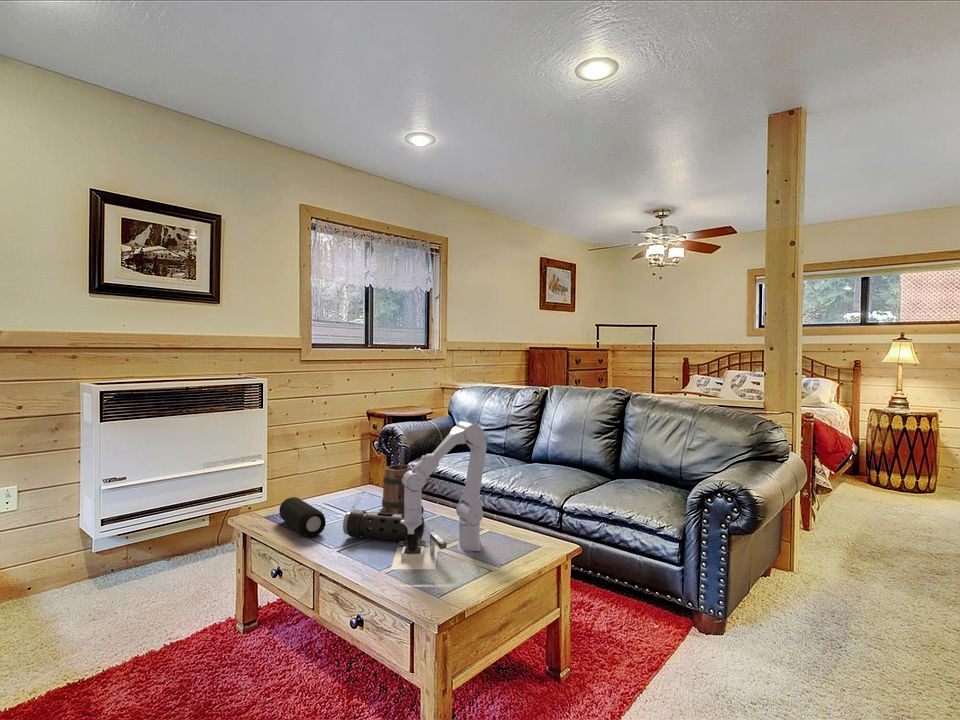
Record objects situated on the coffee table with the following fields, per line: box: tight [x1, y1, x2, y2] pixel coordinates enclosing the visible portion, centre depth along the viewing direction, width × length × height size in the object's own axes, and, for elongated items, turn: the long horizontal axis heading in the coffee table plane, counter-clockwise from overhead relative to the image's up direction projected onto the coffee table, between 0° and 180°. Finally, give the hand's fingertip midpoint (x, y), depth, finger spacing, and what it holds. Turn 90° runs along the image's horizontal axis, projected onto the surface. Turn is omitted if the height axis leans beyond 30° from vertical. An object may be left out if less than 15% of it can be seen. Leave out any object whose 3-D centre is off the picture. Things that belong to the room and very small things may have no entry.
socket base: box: [390, 545, 439, 571], centre depth 173 cm, size 18×14×3 cm
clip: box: [429, 531, 448, 556], centre depth 169 cm, size 2×12×8 cm, turn 24°
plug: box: [398, 536, 420, 554], centre depth 174 cm, size 4×7×6 cm, turn 92°
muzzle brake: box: [342, 509, 425, 543], centre depth 189 cm, size 10×28×10 cm, turn 78°
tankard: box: [379, 464, 425, 515], centre depth 216 cm, size 24×17×20 cm
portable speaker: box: [279, 496, 326, 538], centre depth 201 cm, size 26×10×10 cm, turn 40°
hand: (412, 548), depth 174 cm, fingers closed on plug, 4 cm apart
